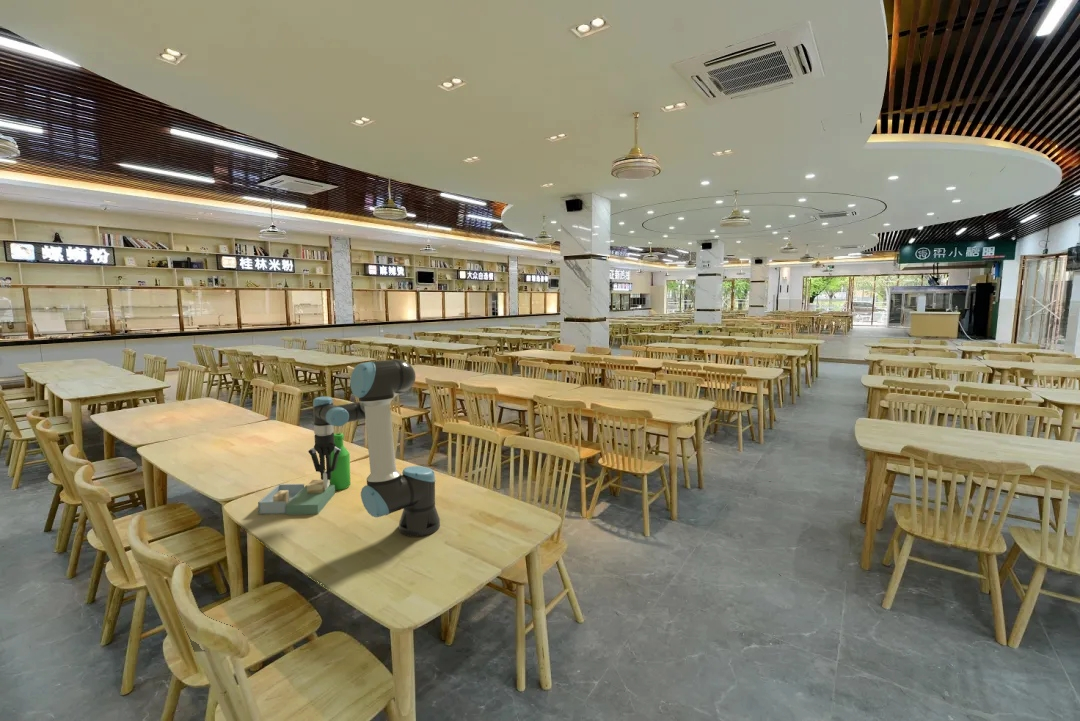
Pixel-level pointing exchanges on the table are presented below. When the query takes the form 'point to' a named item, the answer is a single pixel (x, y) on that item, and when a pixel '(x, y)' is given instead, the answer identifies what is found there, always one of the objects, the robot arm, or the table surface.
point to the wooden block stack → (315, 486)
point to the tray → (280, 507)
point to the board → (309, 501)
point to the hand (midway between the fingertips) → (326, 486)
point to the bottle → (340, 465)
